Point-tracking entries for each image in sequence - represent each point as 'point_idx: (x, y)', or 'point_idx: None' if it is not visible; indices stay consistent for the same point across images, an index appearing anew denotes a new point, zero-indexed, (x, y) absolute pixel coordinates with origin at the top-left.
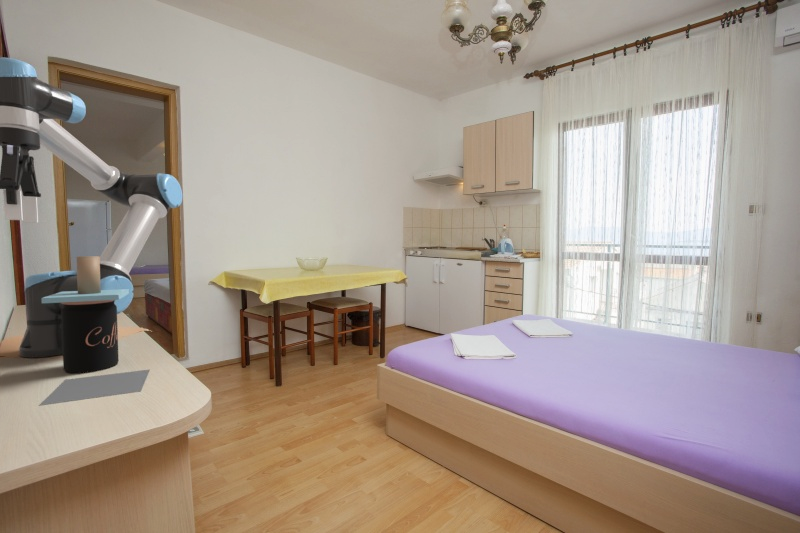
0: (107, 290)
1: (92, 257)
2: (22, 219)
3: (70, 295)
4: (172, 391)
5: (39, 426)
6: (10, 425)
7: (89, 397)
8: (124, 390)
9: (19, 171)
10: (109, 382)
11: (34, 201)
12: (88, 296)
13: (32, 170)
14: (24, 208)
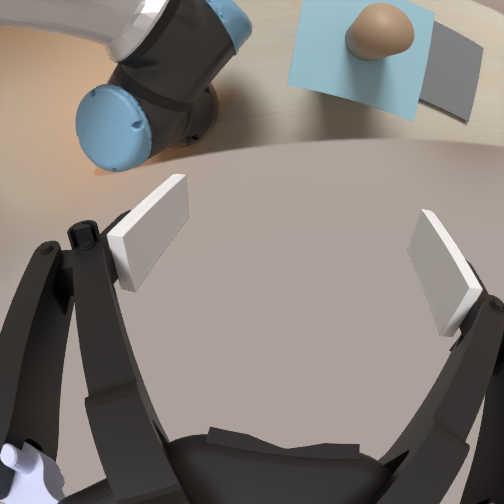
0: (320, 7)
1: (411, 23)
2: (425, 210)
3: (397, 76)
4: (485, 26)
5: (501, 127)
6: (486, 142)
7: (474, 84)
8: (473, 56)
9: (480, 398)
10: (437, 56)
11: (139, 228)
12: (427, 54)
13: (146, 422)
14: (163, 243)
